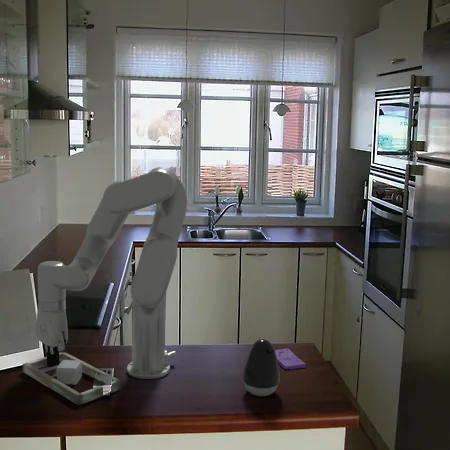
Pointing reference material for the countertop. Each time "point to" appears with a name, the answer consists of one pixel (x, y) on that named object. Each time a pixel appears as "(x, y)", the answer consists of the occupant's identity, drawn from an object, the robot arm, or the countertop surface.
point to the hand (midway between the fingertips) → (53, 365)
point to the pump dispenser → (261, 369)
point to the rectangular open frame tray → (38, 371)
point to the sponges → (288, 359)
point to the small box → (69, 371)
